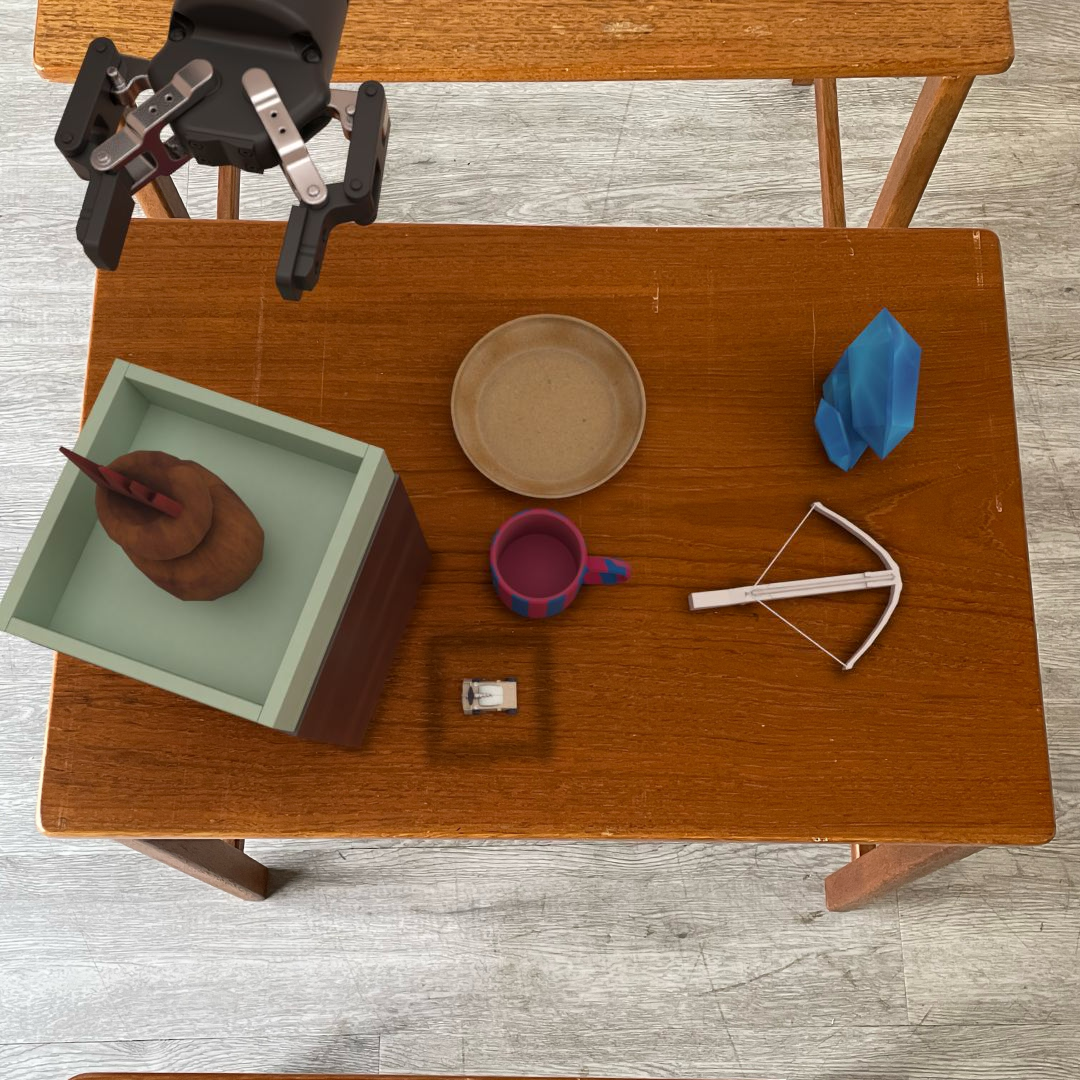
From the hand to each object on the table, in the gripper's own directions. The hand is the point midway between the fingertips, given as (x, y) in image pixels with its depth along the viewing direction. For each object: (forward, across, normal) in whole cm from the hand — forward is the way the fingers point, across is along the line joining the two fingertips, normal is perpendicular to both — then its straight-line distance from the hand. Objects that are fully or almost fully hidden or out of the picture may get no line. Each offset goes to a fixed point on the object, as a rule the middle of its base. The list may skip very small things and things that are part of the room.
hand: (193, 278), depth 46 cm
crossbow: (+2, +36, +34) cm, 50 cm away
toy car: (+14, +15, +34) cm, 40 cm away
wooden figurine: (+10, 0, +11) cm, 15 cm away
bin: (+10, 0, +12) cm, 16 cm away
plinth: (+10, 0, +34) cm, 36 cm away
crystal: (-13, +39, +34) cm, 53 cm away
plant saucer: (-8, +16, +34) cm, 39 cm away
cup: (+4, +18, +34) cm, 39 cm away
